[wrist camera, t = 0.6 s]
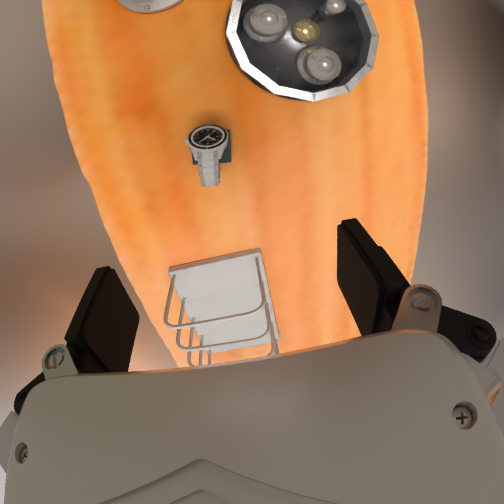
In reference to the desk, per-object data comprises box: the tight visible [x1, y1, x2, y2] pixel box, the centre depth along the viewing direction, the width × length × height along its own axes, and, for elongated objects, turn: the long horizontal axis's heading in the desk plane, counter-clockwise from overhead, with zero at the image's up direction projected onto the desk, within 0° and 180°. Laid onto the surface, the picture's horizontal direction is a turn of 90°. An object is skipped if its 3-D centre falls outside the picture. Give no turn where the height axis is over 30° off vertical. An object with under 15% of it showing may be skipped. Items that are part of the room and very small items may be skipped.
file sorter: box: [164, 248, 280, 367], centre depth 53 cm, size 25×17×16 cm
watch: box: [185, 124, 231, 186], centre depth 37 cm, size 6×8×11 cm
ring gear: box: [226, 0, 379, 102], centre depth 30 cm, size 21×21×3 cm
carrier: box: [226, 0, 363, 101], centre depth 30 cm, size 22×22×6 cm
